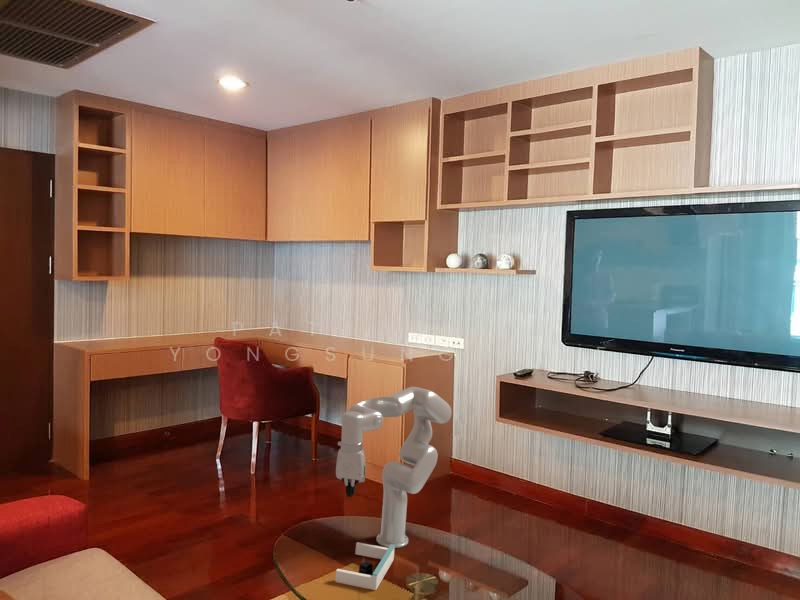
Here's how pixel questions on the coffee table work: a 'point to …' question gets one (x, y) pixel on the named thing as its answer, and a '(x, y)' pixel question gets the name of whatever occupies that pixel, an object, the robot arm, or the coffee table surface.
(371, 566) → the black irregular block
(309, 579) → the coffee table surface
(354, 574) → the frame
